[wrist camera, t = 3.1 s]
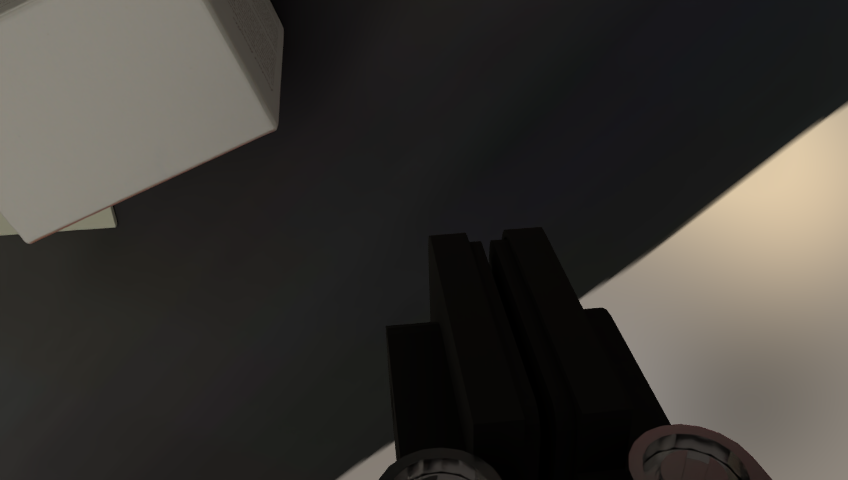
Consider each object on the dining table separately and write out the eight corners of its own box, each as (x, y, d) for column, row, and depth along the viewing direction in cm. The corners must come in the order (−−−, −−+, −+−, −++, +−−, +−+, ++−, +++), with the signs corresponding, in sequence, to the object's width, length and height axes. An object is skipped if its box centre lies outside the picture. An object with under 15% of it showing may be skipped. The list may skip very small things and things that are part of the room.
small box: (106, 115, 30) (20, 253, 21) (12, -20, 27) (-133, 73, 18) (290, 30, 29) (283, 134, 20) (214, -118, 26) (167, -72, 17)
